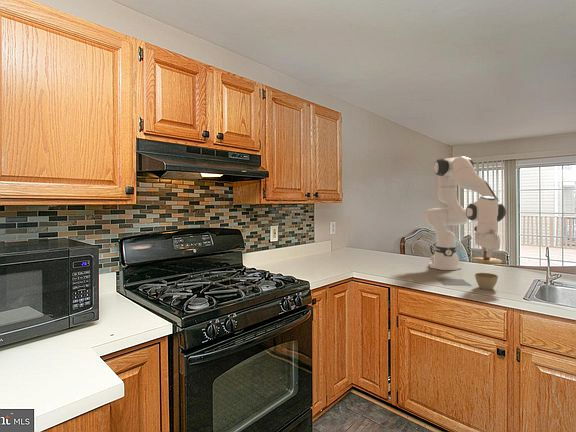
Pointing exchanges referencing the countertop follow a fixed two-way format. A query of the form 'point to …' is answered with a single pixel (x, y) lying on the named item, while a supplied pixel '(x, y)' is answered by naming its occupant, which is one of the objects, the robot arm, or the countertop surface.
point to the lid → (486, 259)
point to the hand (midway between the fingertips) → (486, 256)
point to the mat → (454, 282)
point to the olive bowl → (486, 280)
